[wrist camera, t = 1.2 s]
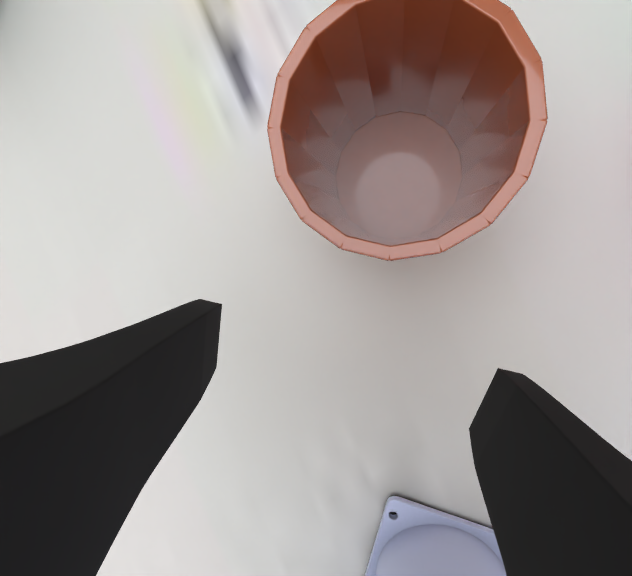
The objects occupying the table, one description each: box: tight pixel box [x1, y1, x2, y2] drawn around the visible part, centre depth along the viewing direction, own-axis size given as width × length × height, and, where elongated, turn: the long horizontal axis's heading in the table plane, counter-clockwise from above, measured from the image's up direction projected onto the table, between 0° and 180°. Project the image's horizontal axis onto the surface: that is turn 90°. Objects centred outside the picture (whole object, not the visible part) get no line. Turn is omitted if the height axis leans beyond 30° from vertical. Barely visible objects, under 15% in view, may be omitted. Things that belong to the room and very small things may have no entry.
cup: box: [267, 0, 547, 261], centre depth 14 cm, size 7×7×10 cm
